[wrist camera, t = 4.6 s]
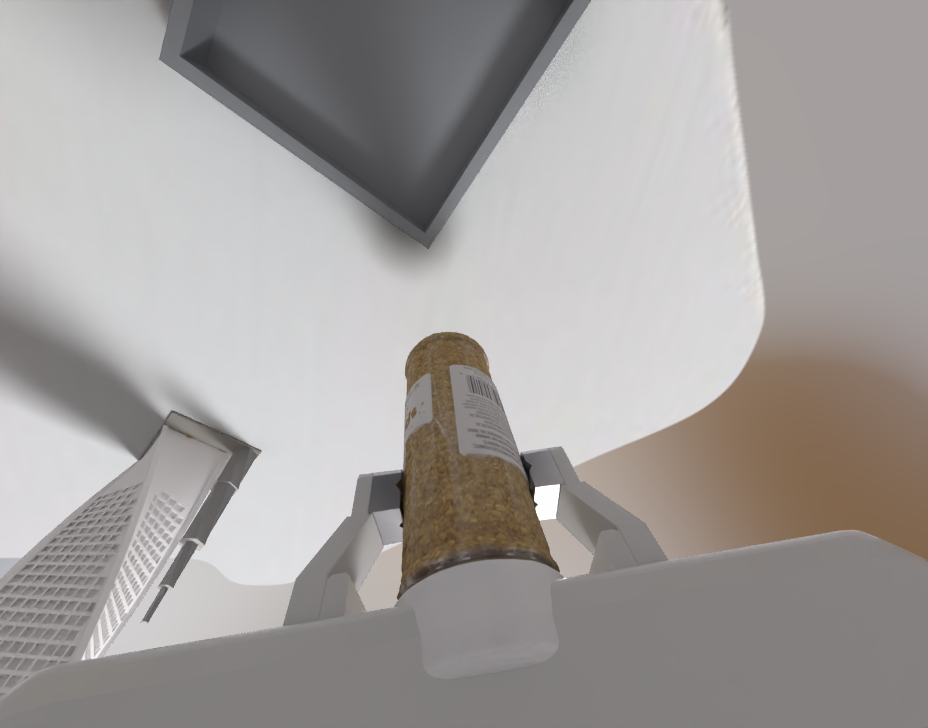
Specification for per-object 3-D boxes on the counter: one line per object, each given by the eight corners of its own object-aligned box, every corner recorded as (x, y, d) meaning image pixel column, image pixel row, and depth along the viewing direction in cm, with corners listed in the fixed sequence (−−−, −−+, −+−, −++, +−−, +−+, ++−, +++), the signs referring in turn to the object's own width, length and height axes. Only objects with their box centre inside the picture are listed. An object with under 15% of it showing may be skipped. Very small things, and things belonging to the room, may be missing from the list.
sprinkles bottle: (388, 352, 18) (337, 715, 6) (467, 313, 17) (568, 639, 6) (431, 411, 20) (449, 750, 9) (501, 379, 19) (620, 699, 8)
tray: (194, 71, 16) (159, 59, 14) (310, -348, 11) (283, -466, 9) (427, 239, 21) (428, 249, 19) (580, 2, 16) (604, -20, 14)
